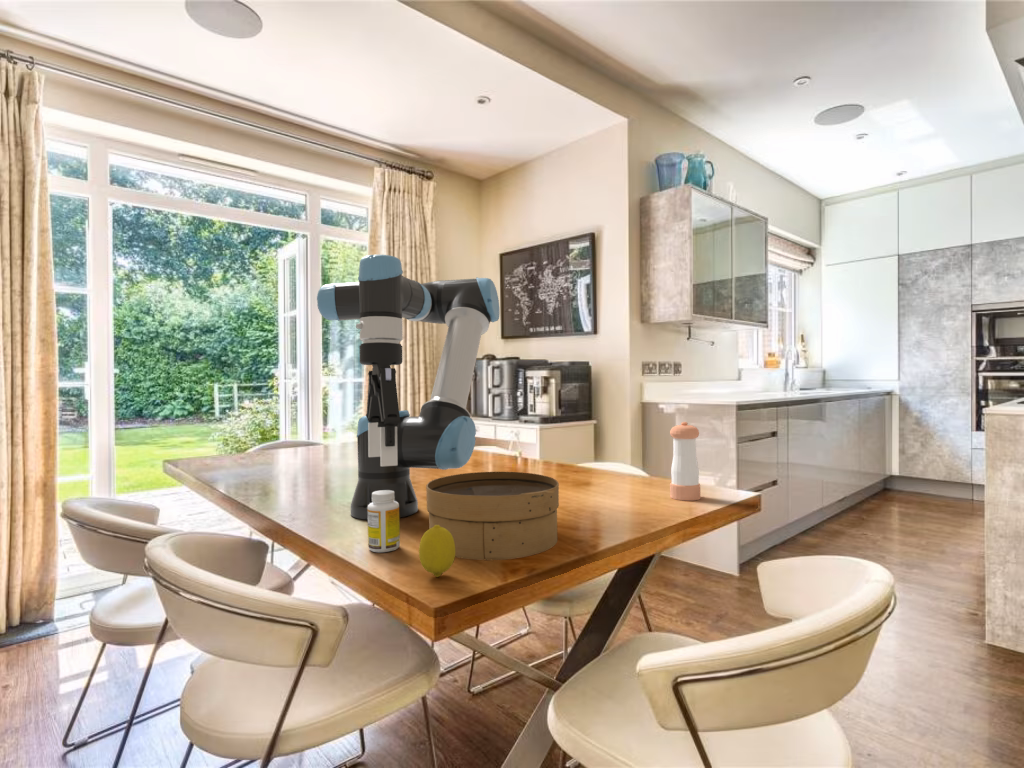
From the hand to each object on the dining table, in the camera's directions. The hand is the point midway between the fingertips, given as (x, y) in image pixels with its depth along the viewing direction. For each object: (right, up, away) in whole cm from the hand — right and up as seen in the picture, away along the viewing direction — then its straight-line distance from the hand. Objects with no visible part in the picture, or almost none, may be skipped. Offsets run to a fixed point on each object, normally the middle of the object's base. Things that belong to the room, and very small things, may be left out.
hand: (382, 461), depth 98 cm
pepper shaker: (+67, -15, +40) cm, 80 cm away
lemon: (+12, -16, -14) cm, 25 cm away
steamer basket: (+20, -16, +5) cm, 26 cm away
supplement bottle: (0, -16, 0) cm, 16 cm away
